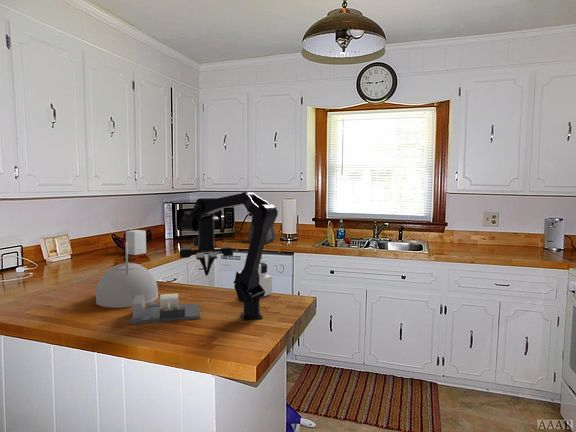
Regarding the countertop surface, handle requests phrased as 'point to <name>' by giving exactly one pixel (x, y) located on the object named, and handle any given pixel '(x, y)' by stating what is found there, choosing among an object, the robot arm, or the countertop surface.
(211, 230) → the robot arm
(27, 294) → the countertop surface
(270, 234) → the bottle
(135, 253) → the supplement box
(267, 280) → the container
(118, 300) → the grey dome with rod
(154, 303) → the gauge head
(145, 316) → the gauge bench
